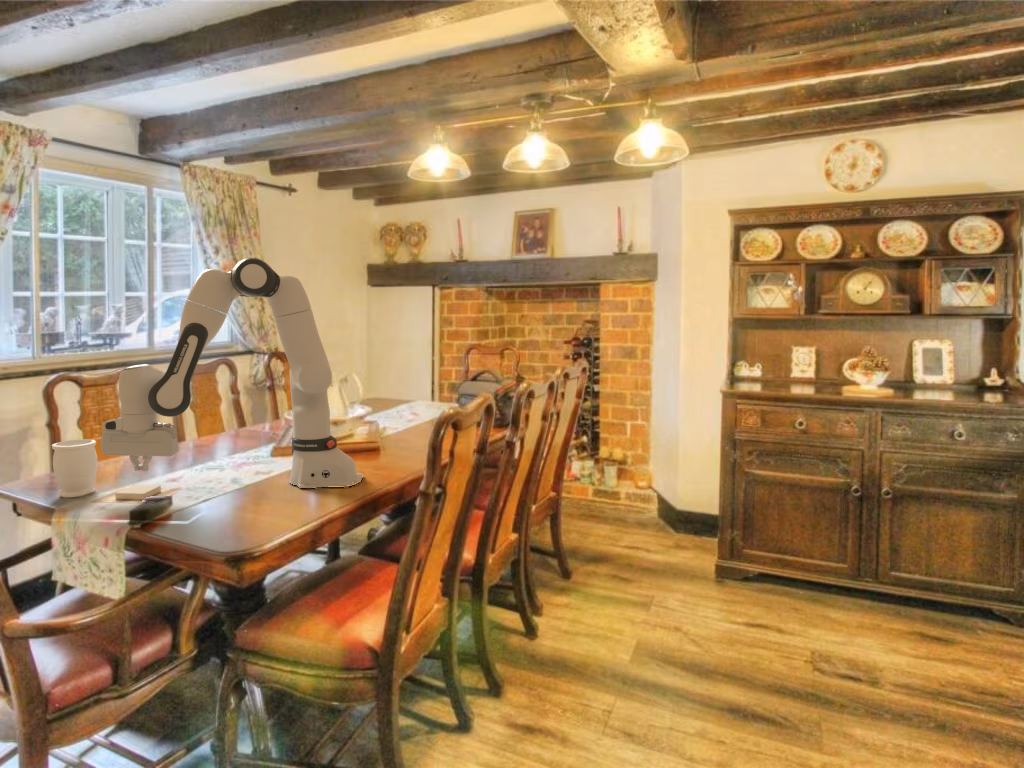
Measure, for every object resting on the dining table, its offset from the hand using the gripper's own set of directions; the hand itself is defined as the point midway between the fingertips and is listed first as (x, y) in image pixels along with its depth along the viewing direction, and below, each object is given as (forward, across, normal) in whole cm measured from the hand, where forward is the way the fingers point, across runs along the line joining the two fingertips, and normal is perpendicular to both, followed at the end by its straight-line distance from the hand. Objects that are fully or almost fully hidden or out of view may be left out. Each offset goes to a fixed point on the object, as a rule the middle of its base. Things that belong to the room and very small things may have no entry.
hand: (141, 470), depth 175 cm
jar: (+8, +20, -2) cm, 22 cm away
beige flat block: (+6, -3, 0) cm, 7 cm away
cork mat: (+8, +1, 0) cm, 8 cm away
